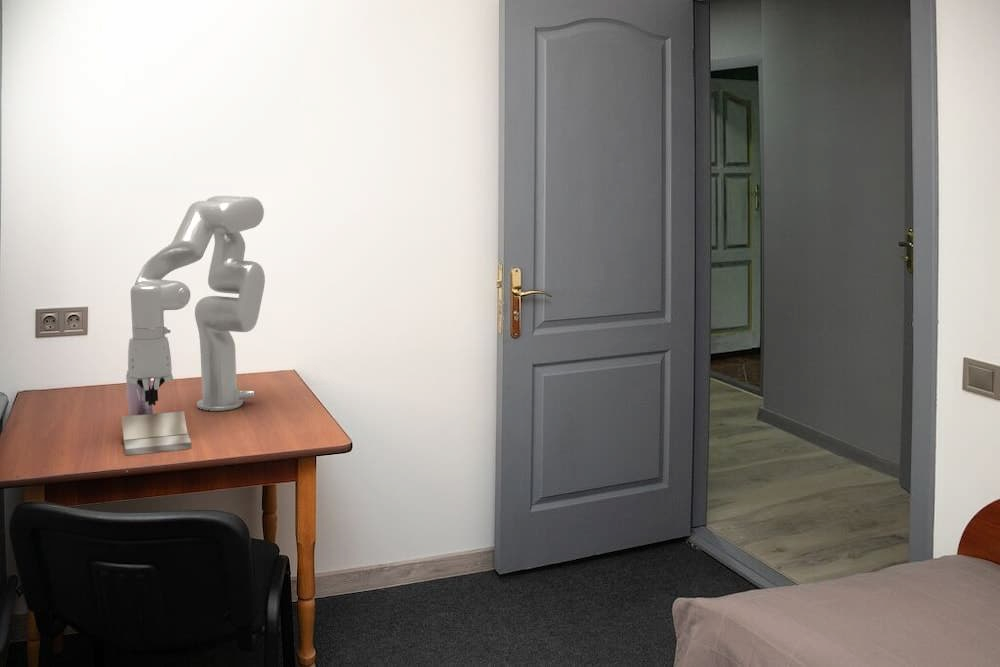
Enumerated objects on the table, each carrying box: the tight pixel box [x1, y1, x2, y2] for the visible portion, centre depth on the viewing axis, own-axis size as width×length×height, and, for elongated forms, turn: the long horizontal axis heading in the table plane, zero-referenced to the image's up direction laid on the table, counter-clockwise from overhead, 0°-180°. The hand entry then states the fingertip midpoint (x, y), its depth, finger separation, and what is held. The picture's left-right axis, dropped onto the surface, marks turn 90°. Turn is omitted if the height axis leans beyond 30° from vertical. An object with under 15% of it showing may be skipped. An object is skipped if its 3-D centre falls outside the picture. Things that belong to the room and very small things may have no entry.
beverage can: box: [126, 370, 154, 416], centre depth 247 cm, size 6×6×15 cm
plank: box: [121, 410, 189, 442], centre depth 237 cm, size 15×8×2 cm
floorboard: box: [123, 433, 192, 456], centre depth 231 cm, size 15×8×2 cm, turn 114°
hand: (151, 403), depth 239 cm, fingers closed
